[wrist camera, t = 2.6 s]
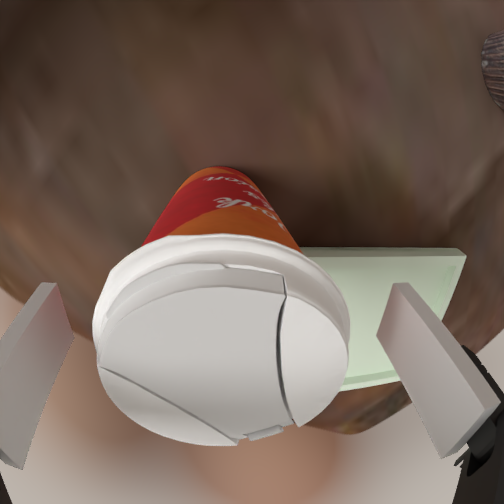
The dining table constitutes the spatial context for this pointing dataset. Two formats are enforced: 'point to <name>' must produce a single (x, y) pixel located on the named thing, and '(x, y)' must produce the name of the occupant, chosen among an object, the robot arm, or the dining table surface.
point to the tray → (384, 296)
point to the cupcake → (494, 66)
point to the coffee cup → (220, 320)
